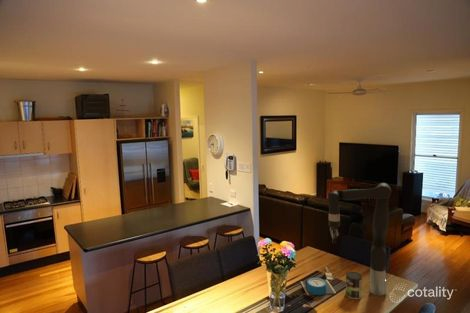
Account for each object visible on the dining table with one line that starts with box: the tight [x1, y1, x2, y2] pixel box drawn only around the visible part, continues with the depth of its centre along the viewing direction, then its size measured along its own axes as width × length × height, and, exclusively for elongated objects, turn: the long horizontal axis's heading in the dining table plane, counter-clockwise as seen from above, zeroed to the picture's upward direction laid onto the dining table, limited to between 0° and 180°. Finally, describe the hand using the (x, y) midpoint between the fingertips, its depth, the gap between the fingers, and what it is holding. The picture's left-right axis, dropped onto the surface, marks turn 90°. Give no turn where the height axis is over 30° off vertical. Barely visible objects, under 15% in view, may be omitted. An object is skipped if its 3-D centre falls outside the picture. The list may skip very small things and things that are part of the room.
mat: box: [300, 279, 337, 297], centre depth 227 cm, size 20×18×1 cm
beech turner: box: [324, 266, 334, 281], centre depth 246 cm, size 18×4×1 cm, turn 174°
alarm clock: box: [304, 276, 326, 296], centre depth 223 cm, size 13×6×15 cm
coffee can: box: [345, 271, 363, 300], centre depth 216 cm, size 10×10×14 cm
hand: (334, 243), depth 227 cm, fingers closed
